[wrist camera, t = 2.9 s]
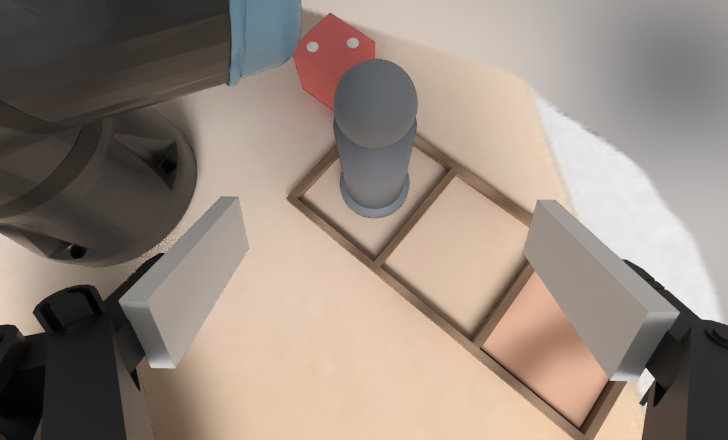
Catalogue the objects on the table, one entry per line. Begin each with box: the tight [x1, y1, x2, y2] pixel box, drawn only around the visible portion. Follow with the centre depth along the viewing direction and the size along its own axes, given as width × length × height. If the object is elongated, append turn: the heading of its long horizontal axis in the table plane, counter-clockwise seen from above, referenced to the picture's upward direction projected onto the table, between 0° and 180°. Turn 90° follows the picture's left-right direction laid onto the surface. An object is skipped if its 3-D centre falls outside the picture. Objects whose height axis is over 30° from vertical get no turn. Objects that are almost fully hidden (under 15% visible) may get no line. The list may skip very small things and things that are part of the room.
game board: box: [286, 134, 627, 440], centre depth 27 cm, size 29×12×1 cm, turn 50°
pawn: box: [333, 59, 418, 218], centre depth 22 cm, size 6×6×14 cm
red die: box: [293, 13, 375, 110], centre depth 30 cm, size 5×5×5 cm
